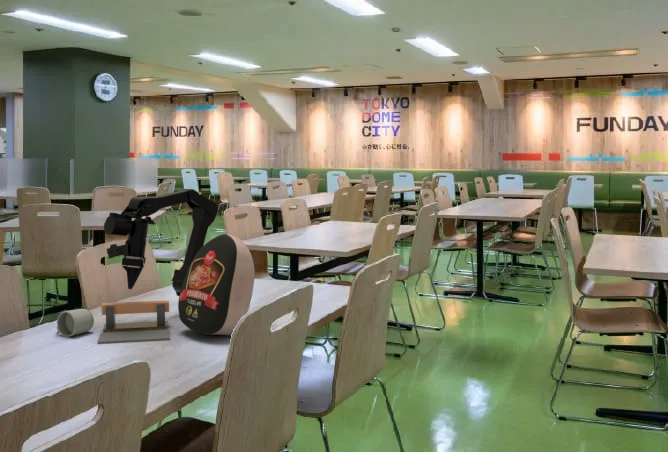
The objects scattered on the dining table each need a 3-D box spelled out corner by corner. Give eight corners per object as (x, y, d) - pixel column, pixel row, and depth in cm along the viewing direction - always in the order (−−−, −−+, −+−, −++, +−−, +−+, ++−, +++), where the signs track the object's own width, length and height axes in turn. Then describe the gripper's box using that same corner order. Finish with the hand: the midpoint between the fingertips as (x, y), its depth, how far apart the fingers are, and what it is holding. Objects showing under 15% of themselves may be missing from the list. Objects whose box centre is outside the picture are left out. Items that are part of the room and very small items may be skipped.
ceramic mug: (96, 332, 208) (95, 307, 208) (75, 338, 201) (74, 312, 200) (71, 328, 213) (70, 304, 212) (49, 334, 206) (48, 309, 205)
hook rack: (167, 323, 219) (167, 300, 219) (167, 329, 213) (167, 305, 212) (105, 326, 215) (104, 303, 214) (103, 332, 208) (102, 308, 207)
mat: (169, 331, 210) (169, 329, 210) (169, 339, 201) (169, 337, 201) (100, 334, 206) (100, 332, 205) (97, 343, 196) (97, 341, 196)
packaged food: (168, 332, 209) (166, 234, 205) (219, 321, 223) (218, 229, 220) (214, 346, 194) (213, 241, 191) (265, 333, 209) (265, 235, 206)
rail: (169, 309, 217) (168, 300, 217) (169, 311, 214) (169, 302, 214) (102, 312, 212) (102, 303, 212) (101, 314, 209) (101, 305, 209)
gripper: (112, 234, 221) (106, 282, 220) (107, 235, 202) (100, 287, 202) (148, 238, 223) (142, 285, 223) (146, 239, 205) (139, 291, 205)
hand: (130, 287), depth 213 cm, fingers open, 9 cm apart
